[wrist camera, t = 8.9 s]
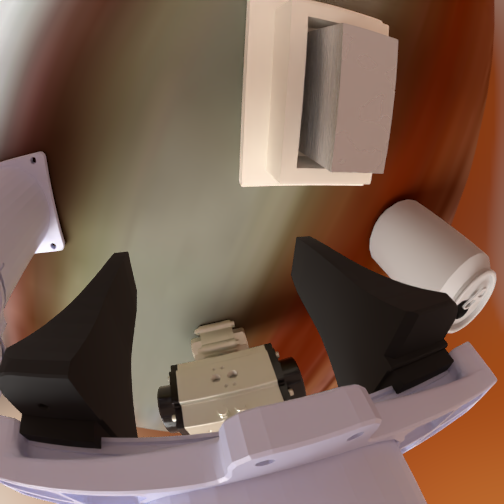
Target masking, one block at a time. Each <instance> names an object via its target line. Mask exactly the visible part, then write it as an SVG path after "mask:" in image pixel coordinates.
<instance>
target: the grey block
mask: <svg viewBox="0 0 504 504" xmlns="http://www.w3.org/2000/svg"><path fill="white" fill-rule="evenodd" d="M397 58H398V40H397V39H395V38H392V37H389V36H386V35H383V34H380V33H377V32H374V31H371V30H368V29H364V28H361V27H357V26H354V25H350V24H346V23H340V24H336V25H332V26H328V27H324V28H320V29H317V30H313V31H310V32H307V48H306V64H305V78H304V91H303V104H302V116H301V127H300V138H299V149H298V151H300V152H301V153H303V154H304V155H306V156H308V157H309V158H311V159H312V160H314V161H315V162H317V163H318V164H320V165H321V166H323V167H324V168H326V169H327V170H328V171H330V172H349V173H380V174H383V172H384V167H385V161H386V155H387V149H388V142H389V136H390V129H391V121H392V114H393V105H394V96H395V85H396V73H397Z"/></svg>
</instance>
